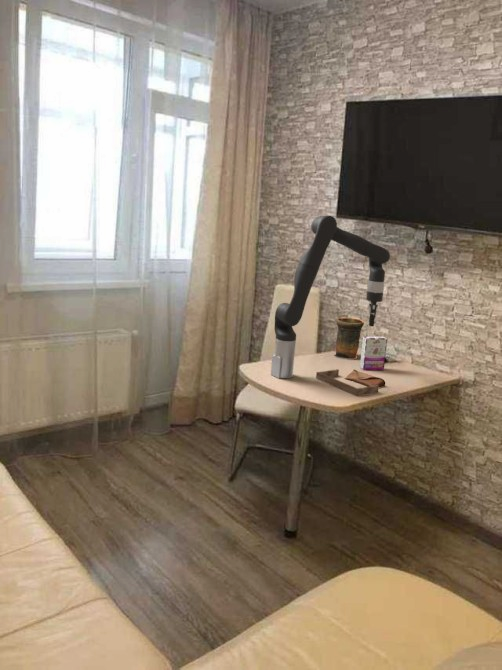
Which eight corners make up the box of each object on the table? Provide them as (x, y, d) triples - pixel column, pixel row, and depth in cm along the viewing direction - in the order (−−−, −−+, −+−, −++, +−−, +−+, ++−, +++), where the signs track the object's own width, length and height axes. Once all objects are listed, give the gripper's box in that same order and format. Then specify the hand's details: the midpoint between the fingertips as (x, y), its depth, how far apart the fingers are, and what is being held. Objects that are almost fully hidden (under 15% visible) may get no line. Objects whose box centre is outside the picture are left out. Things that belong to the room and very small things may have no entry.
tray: (356, 396, 233) (357, 389, 232) (315, 378, 253) (316, 372, 253) (378, 392, 240) (378, 385, 239) (336, 375, 261) (337, 369, 260)
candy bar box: (379, 367, 280) (383, 336, 276) (384, 370, 275) (388, 338, 271) (359, 367, 277) (362, 335, 274) (362, 370, 273) (366, 337, 269)
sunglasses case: (341, 378, 256) (347, 365, 257) (348, 383, 261) (354, 371, 262) (374, 389, 244) (380, 375, 245) (381, 394, 249) (387, 381, 250)
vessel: (365, 357, 298) (369, 320, 293) (351, 361, 288) (354, 324, 283) (342, 351, 307) (346, 315, 303) (328, 355, 297) (331, 319, 292)
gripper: (367, 288, 268) (363, 320, 272) (367, 292, 254) (363, 326, 258) (382, 289, 267) (378, 322, 270) (383, 293, 253) (379, 328, 257)
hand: (371, 324), depth 264 cm, fingers open, 8 cm apart
